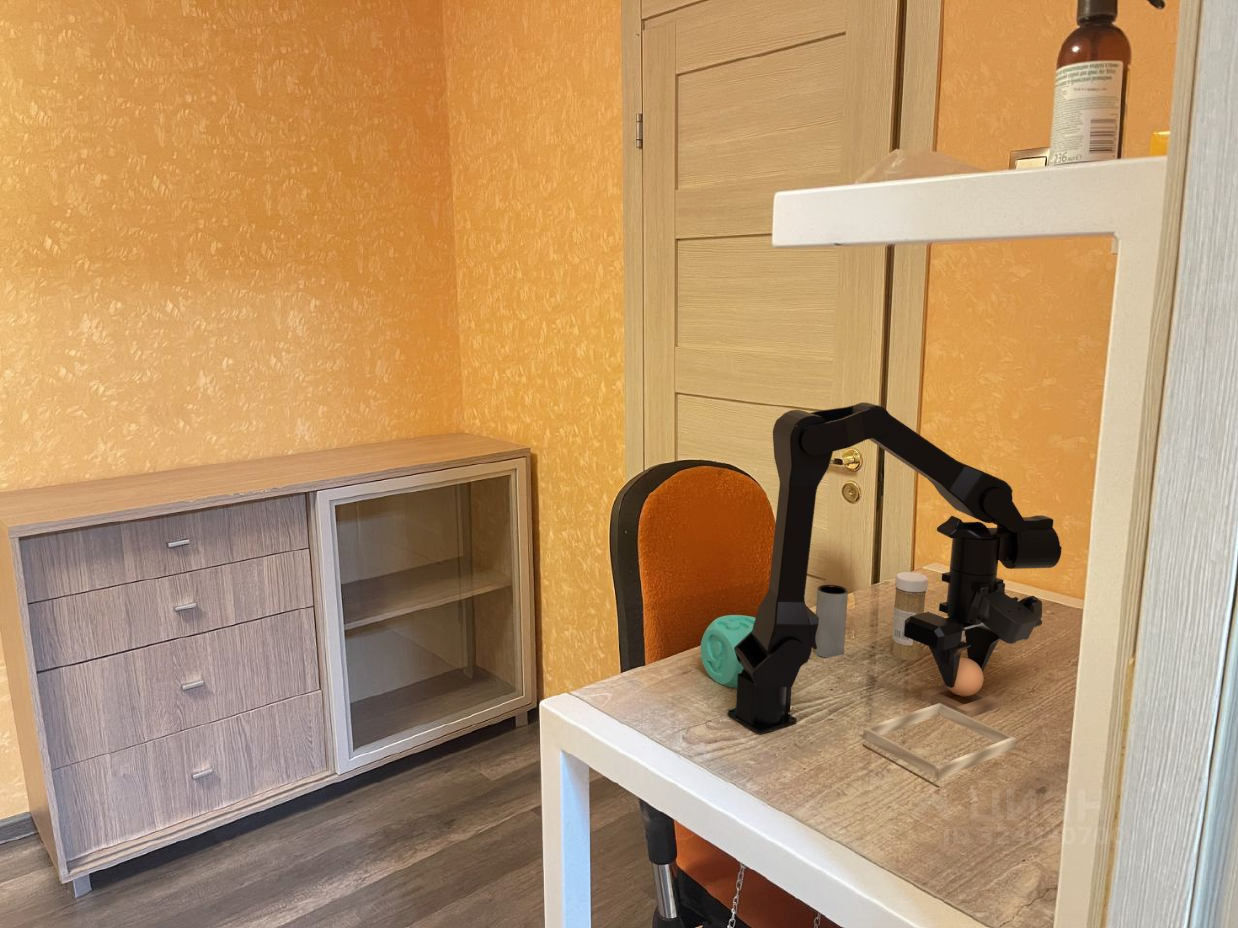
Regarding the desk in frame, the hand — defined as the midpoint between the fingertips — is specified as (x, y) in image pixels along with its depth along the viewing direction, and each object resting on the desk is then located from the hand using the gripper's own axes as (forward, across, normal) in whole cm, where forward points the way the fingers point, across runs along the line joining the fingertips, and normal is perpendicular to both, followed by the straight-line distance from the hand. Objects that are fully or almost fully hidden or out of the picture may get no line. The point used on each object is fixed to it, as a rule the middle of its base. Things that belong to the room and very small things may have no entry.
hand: (962, 682), depth 118 cm
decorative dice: (+4, -19, +23) cm, 30 cm away
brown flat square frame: (+4, 0, 0) cm, 4 cm away
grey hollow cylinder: (+4, -1, +23) cm, 23 cm away
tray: (+4, -12, -6) cm, 14 cm away
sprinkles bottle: (+4, +7, +15) cm, 17 cm away
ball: (+2, 0, 0) cm, 2 cm away
